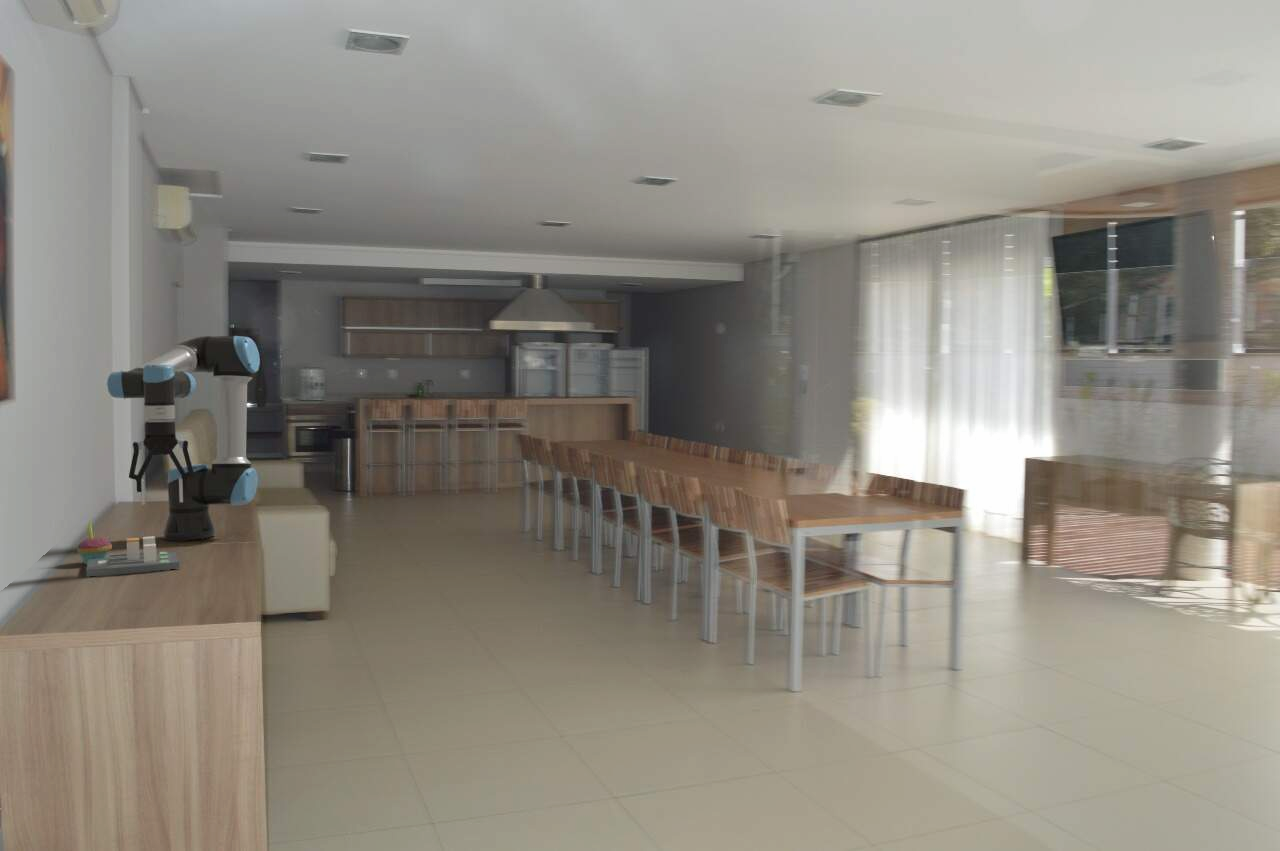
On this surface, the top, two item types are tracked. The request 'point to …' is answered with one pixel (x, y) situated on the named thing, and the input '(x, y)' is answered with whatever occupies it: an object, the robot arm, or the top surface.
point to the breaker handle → (133, 549)
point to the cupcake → (93, 547)
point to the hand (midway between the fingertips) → (162, 502)
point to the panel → (133, 562)
